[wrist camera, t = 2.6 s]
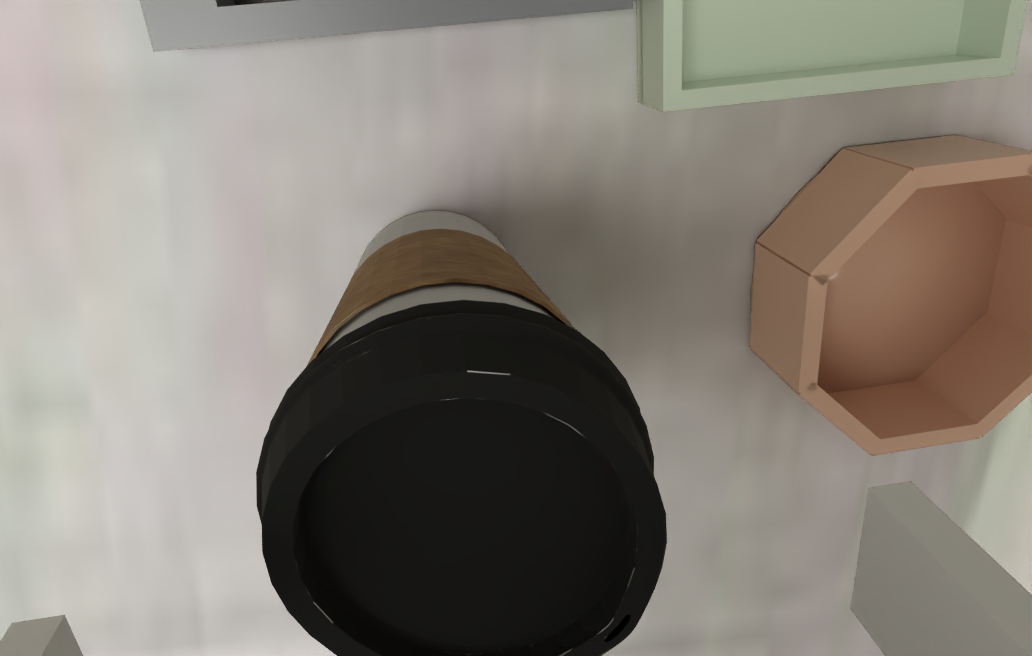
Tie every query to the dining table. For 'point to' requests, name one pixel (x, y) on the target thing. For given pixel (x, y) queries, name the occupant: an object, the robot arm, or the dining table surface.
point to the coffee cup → (458, 465)
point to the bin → (903, 291)
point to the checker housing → (332, 17)
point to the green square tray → (815, 47)
